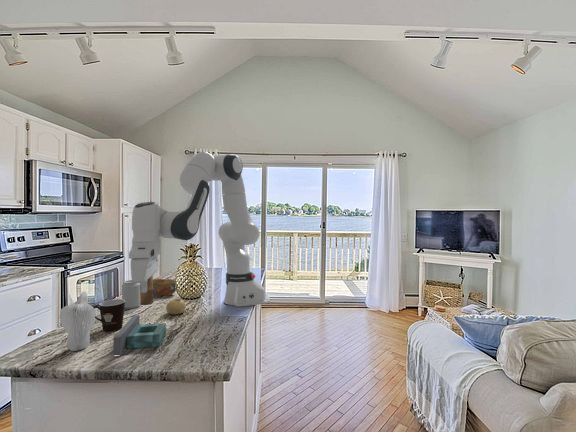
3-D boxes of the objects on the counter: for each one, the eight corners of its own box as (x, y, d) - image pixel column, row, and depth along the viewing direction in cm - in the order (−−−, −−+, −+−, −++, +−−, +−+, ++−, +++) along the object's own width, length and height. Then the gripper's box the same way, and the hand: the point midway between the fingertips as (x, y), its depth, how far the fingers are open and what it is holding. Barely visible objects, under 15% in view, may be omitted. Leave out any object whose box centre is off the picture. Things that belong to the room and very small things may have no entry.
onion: (164, 317, 130) (164, 300, 130) (168, 311, 138) (167, 295, 138) (184, 315, 132) (184, 299, 131) (186, 309, 139) (186, 294, 139)
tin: (148, 294, 164) (148, 278, 164) (152, 292, 167) (152, 277, 167) (174, 296, 161) (173, 280, 161) (177, 294, 164) (177, 278, 164)
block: (165, 334, 112) (165, 323, 112) (159, 346, 102) (159, 334, 102) (136, 336, 110) (136, 325, 110) (126, 348, 101) (126, 336, 100)
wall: (139, 330, 115) (139, 314, 115) (120, 356, 96) (120, 337, 95) (133, 331, 115) (133, 315, 115) (113, 356, 95) (113, 337, 95)
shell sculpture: (71, 357, 95) (70, 298, 95) (58, 350, 99) (57, 294, 99) (99, 346, 102) (98, 292, 102) (86, 341, 106) (85, 289, 106)
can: (143, 304, 147) (143, 279, 147) (134, 309, 139) (133, 283, 139) (128, 304, 148) (128, 278, 147) (118, 309, 140) (118, 282, 140)
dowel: (154, 301, 108) (154, 272, 108) (151, 304, 104) (151, 275, 104) (142, 302, 108) (141, 273, 107) (138, 305, 104) (138, 275, 103)
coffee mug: (130, 325, 120) (130, 300, 120) (111, 334, 112) (111, 307, 112) (108, 322, 124) (107, 297, 124) (87, 330, 116) (87, 303, 116)
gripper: (145, 246, 115) (145, 283, 116) (126, 254, 95) (127, 298, 95) (163, 245, 116) (163, 282, 117) (148, 253, 96) (149, 297, 97)
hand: (146, 290), depth 106 cm, fingers closed on dowel, 4 cm apart
